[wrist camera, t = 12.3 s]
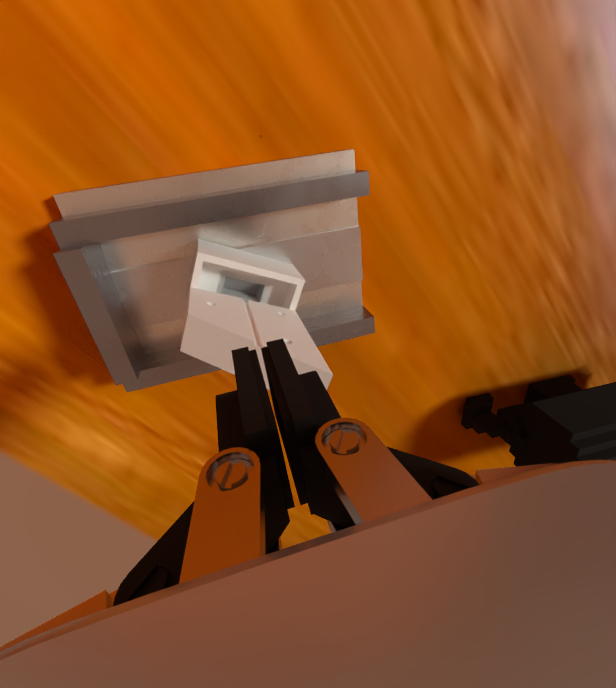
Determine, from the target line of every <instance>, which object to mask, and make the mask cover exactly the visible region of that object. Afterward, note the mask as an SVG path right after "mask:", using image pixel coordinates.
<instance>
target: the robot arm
mask: <svg viewBox="0 0 616 688" xmlns="http://www.w3.org/2000/svg"><path fill="white" fill-rule="evenodd" d="M266 344H267V347H263V348H261V351H262V356H263V360H264V365H265V369H266V374H267V379H268V383H269V388H270V392H271V397H272V401H273V406H274V411H275V415H276V419H277V423H278V426H279V430H280V434H281V437H282V441H283V444H284V448H285V451H286V455H287V458H288V462H289V466H290V469H291V473H292V476H293V480H294V483H295V487H296V490H297V494H298V498H299V501H300V504H301V505H303V504H306V503H308V506H309V509H310V512H311V515H312V514H315V515H317V516H319V517H322V518H324V519H326V520H327V522H328V525H329V528H330V530H331V532H332V533H330V534H327V535H324V536H321V537H318V538H315V539H312V540H309V541H306V542H303V543H300V544H297V545H294V546H291V547H288V548H285V549H282V543H281V538H280V536H281V534H282V533H283V531H284V530H285V528H286V527H287V525H288V524H289V522H290V519H289V515H288V511H287V509H290V508H293V507H295V506H294V501H293V497H292V492H291V488H290V483H289V479H288V474H287V470H286V465H285V461H284V456H283V452H282V447H281V442H280V438H279V433H278V429H277V425H276V421H275V417H274V414H273V410H272V407H271V403H270V399H269V396H268V392H267V388H266V385H265V381H264V378H263V374H262V370H261V367H260V363H259V359H258V356H257V352H256V349H255V350H250V351H249V348H248V347H244V348H239V349H235V350H231V351H232V358H233V364H234V371H235V377H236V384H237V390H236V391H232V392H228V393H224V394H220V395H216V413H217V429H218V446H219V453H217V454H215V455H214V456H213V457H212V458H210V459H209V460H208V461H207V462H206V464H205V465H204V466H203V468H202V470H201V473H200V475H199V480H198V485H197V491H196V496H195V501H194V502H193V503H192V504H191V505H190V506H189V507H188V508H187V510H186V511H185V512H184V513H183V514H182V515H181V516H180V517H179V518H178V519H177V521H176V522H175V523H174V524H173V525H172V526H171V527H170V528H169V529H168V531H167V532H166V533H165V534H164V535H163V536H162V537H161V538H160V539H159V540H158V542H157V543H156V544H155V545H154V546H153V547H152V548H151V549H150V550H149V551H148V553H147V554H146V555H145V556H144V557H143V558H142V559H141V560H140V561H139V562H138V564H137V565H136V566H135V567H134V568H133V569H132V570H131V571H130V572H129V574H128V575H127V577H126V578H125V579H124V580H123V582H122V583H121V584H120V586H119V589H117V590H116V591H114V592H112V593H110V594H108V592H107V591H106V590H105V591H103V592H101V593H99V594H98V595H95V596H94V597H92V598H90V599H88V600H86V601H85V602H82V603H81V604H79V605H77V606H75V607H73V608H71V609H69V610H68V611H66V612H64V613H62V614H60V615H58V616H56V617H55V618H53V619H51V620H49V621H47V622H46V623H44V624H42V625H40V626H38V627H36V628H34V629H33V630H31V631H29V632H27V633H25V634H23V635H21V636H19V637H18V638H16V639H14V640H12V641H10V642H8V643H7V644H5V645H4V646H2V647H0V688H616V460H587V461H573V462H567V463H562V464H554V463H548V464H537V465H527V466H516V467H505V468H495V469H484V470H476V475H469V474H467V473H466V472H463V471H461V470H459V469H456V468H453V467H450V466H447V465H444V464H440V463H437V462H434V461H431V460H428V459H424V458H421V457H418V456H415V455H412V454H408V453H405V452H402V451H399V450H396V449H392V448H389V447H386V446H385V445H384V444H383V442H382V441H381V440H380V439H379V438H378V437H377V436H376V434H375V433H374V432H373V431H372V430H371V429H370V428H369V427H368V426H367V425H366V424H365V423H364V422H361V421H359V420H357V419H352V418H341V417H340V415H339V413H338V411H337V409H336V407H335V405H334V404H333V402H332V400H331V398H330V396H329V394H328V392H327V390H326V388H325V386H324V384H323V382H322V381H321V379H320V377H319V375H318V373H317V371H311V372H307V373H303V374H298V372H297V370H296V368H295V365H294V363H293V361H292V358H291V356H290V354H289V351H288V349H287V347H286V344H285V342H284V340H283V338H282V339H278V340H274V341H269V342H266Z"/></svg>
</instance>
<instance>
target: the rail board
mask: <svg viewBox="0 0 616 688" xmlns="http://www.w3.org/2000/svg"><path fill="white" fill-rule="evenodd" d="M365 195H370V194H369V171H365V170H356V169H355V156H354V149H346V150H340V151H333V152H327V153H320V154H313V155H307V156H300V157H294V158H287V159H280V160H274V161H267V162H261V163H254V164H248V165H241V166H234V167H228V168H221V169H215V170H208V171H201V172H195V173H188V174H182V175H175V176H168V177H162V178H155V179H149V180H142V181H135V182H129V183H122V184H116V185H109V186H103V187H96V188H89V189H83V190H76V191H70V192H63V193H58V194H54V195H53V197H54V199H55V201H56V203H57V206H58V208H59V210H60V212H61V215H62V217H61V218H59V219H56V220H54V221H52V222H50V223H48V224H49V226H50V228H51V230H52V232H53V235H54V237H55V239H56V241H57V243H58V245H59V247H60V249H59V250H58V251H56V252H55V253H53V255H54V257H55V259H56V262H57V264H58V266H59V268H60V270H61V272H62V274H63V276H64V278H65V280H66V282H67V285H68V287H69V289H70V291H71V293H72V295H73V297H74V299H75V301H76V303H77V305H78V308H79V310H80V312H81V314H82V316H83V318H84V320H85V322H86V324H87V326H88V328H89V331H90V333H91V335H92V337H93V339H94V341H95V343H96V345H97V347H98V349H99V351H100V353H101V356H102V358H103V360H104V362H105V364H106V366H107V368H108V370H109V372H110V374H111V376H112V379H113V381H114V383H115V385H119V384H123V385H124V387H125V389H126V392H130V391H134V390H138V389H142V388H146V387H150V386H155V385H159V384H163V383H167V382H171V381H175V380H180V379H184V378H188V377H192V376H196V375H200V374H205V373H209V372H213V371H217V370H221V369H220V368H218V367H216V366H213V365H211V364H209V363H207V362H204V361H202V360H200V359H197V358H195V357H193V356H190V355H188V354H186V353H184V352H181V351H180V348H181V339H182V330H183V321H184V312H185V303H186V296H187V291H188V286H189V281H190V276H191V272H192V267H193V262H194V257H195V252H196V247H197V242H198V239H201V240H205V241H208V242H212V243H216V244H219V245H223V246H226V247H230V248H234V249H237V250H241V251H245V252H248V253H252V254H256V255H259V256H263V257H267V258H270V259H274V260H278V261H281V262H285V263H288V264H292V265H294V267H295V268H296V269H297V270H298V272H299V273H300V274H301V275H302V277H303V278H304V279H305V283H304V286H303V289H302V292H301V295H300V298H299V301H298V304H297V307H296V310H295V311H296V312H297V314H298V316H299V318H300V319H301V321H302V323H303V324H304V326H305V328H306V330H307V331H308V333H309V335H310V336H311V338H312V340H313V341H314V343H315V345H316V347H317V346H321V345H325V344H330V343H334V342H338V341H342V340H346V339H350V338H355V337H359V336H363V335H367V334H371V333H375V329H374V316H373V315H372V314H371V313H370V312H369V311H368V310H367V309H366V308H365V307H363V306H362V287H361V280H363V275H362V256H361V236H360V226H358V212H357V197H360V196H365ZM258 287H259V284H256V283H252V282H248V281H244V280H239V279H235V278H231V277H227V276H226V278H225V282H224V286H223V288H227V289H231V290H236V291H240V292H244V293H249V294H253V295H256V294H257V290H258Z"/></svg>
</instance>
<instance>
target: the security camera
mask: <svg viewBox="0 0 616 688" xmlns="http://www.w3.org/2000/svg"><path fill="white" fill-rule="evenodd" d="M574 382H575V379H574V378H573V377H571V376H569V375H567V376H562V377H558V378H553V379H549V380H544V381H540V382H536V383H531V384H529V387H528V391H527V394H526V398H525V401H524V403H523V404H519V405H514V406H510V407H506V408H502V409H498V412H497V416H496V415H495V414H494V413H492V412H491V408H492V404H493V399H494V398H493V397H492V396H491V395H490V394H489V393H487V394H482V395H478V396H474V397H469V398H467V400H466V404H465V406H464V411H463V417H462V422H461V424H462V425H463V426H464V427H465V428H466V429H469V428H473V429H474V430H475V431H476V432H477V433H478V434H480V433H484V432H486V433H487V434H488V435H489V436H490V437H491V438H494V437H498V436H500V437H501V438H502V439H503V440H504V441H505V442H507V443H508V444H509V445H510V446H511V447H510V450H509V452H510V453H511V454H512V455H513V456H514V457H515V461H514V465H515V466H527V465H537V464H548V463H554V464H562V463H567V462H573V461H587V460H616V382H614V383H609V384H605V385H601V386H597V387H593V388H588V389H584V390H583V389H582V388H580V387H578V386H577V385H575V384H574Z"/></svg>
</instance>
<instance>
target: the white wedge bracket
mask: <svg viewBox="0 0 616 688" xmlns="http://www.w3.org/2000/svg"><path fill="white" fill-rule="evenodd" d="M226 276H227V277H231V278H235V279H239V280H244V281H248V282H252V283H256V284H259V287H258V290H257V294H256V295H253V294H249V293H244V292H240V291H236V290H231V289H227V288H223V286H224V282H225V278H226ZM304 283H305V279H304V278H303V277H302V275H301V274H300V273H299V272H298V270H297V269H296V268H295V267H294V265H292V264H288V263H285V262H281V261H278V260H274V259H270V258H267V257H263V256H259V255H256V254H252V253H248V252H245V251H241V250H237V249H234V248H230V247H226V246H223V245H219V244H216V243H212V242H208V241H205V240H201V239H198V242H197V247H196V252H195V257H194V262H193V267H192V272H191V276H190V281H189V286H188V291H187V296H186V303H185V312H184V321H183V330H182V339H181V348H180V351H181V352H184V353H186V354H188V355H190V356H193V357H195V358H197V359H200V360H202V361H204V362H207V363H209V364H211V365H213V366H216V367H218V368H220V369H223V370H225V371H227V372H229V373H232V374H234V375H235V371H234V364H233V358H232V351H231V350H235V349H239V348H244V347H248V348H249V351H250V350H255V349H256V352H257V356H258V359H259V363H260V367H261V370H262V374H263V378H264V381H265V385H266V388H267V389H269V390H270V388H269V383H268V379H267V374H266V369H265V365H264V360H263V356H262V351H261V348H263V347H267V344H266V342H269V341H274V340H278V339H282V338H283V340H284V342H285V344H286V347H287V349H288V351H289V354H290V356H291V358H292V361H293V363H294V365H295V368H296V370H297V372H298V374H303V373H307V372H311V371H317V373H318V375H319V377H320V379H321V381H322V382H323V384H324V386H325V388H326V390H327V388H328V386H329V383H330V381H331V378H332V376H333V374H332V372H331V370H330V369H329V367H328V365H327V364H326V362H325V360H324V359H323V357H322V355H321V353H320V352H319V350H318V348H317V347H316V345H315V343H314V341H313V340H312V338H311V336H310V335H309V333H308V331H307V330H306V328H305V326H304V324H303V323H302V321H301V319H300V318H299V316H298V314H297V312H296V311H295V310H296V307H297V304H298V301H299V298H300V295H301V292H302V289H303V286H304Z"/></svg>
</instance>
